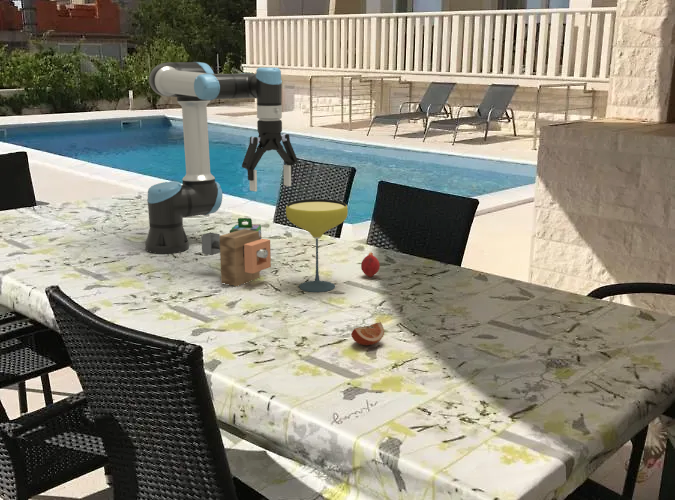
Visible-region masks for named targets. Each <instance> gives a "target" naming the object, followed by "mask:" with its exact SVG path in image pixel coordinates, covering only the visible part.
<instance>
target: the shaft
mask: <svg viewBox="0 0 675 500" xmlns="http://www.w3.org/2000/svg"><path fill="white" fill-rule="evenodd" d="M220 236H221V234H220V233H216V232H208V233H204V234H201V254H204V255H207V256H214V255H217V254H220ZM256 253H257V257H261V258H266V257H267V256H268V251H267V250H264V249H261V250H258V251H256ZM243 254H244V246H243Z"/></svg>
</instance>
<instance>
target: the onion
mask: <svg viewBox="0 0 675 500" xmlns="http://www.w3.org/2000/svg"><path fill="white" fill-rule="evenodd" d="M373 253H374V252H372V251H369V253H368V255H367V256H365V257H364V258H363V259H362V261H361V265H360V268H361V271H362V273H363V274H364V275H366V276H367V277H368V278H372V277H374V276H375V275H376V274H378V272H379V270H380V266H381V265H380V260H378V258H377V257H376V256H375V255H374V254H373Z"/></svg>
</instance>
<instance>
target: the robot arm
mask: <svg viewBox="0 0 675 500" xmlns="http://www.w3.org/2000/svg"><path fill="white" fill-rule="evenodd" d="M255 71H256V73H251V72H242V73H215V72H214V71H213V69H212V67H211V66H210V65H209V64H208V63H206V62H200V61H192V62H191V61H190V62H189V61H188V62H187V61H186V62H185V61H183V62H182V61H180V62H171V61H170V62H163V63H159V64H158V65H156V66H155V67H153V68H152V70H151V71H150V73H149V76H148V81H149V86H150V88H151V89H152V90H153V92H155V94H157V95H159V96H161V97H167V98H168V97H169V98H172V97H173V98H174V97H175V98H176V101H177V103H178V105H180V107H181V113H182V127H183V128H182V129H183V143H184V144H183V145H184V146H183V147H184V157H185V158H184V159H185V174H184V175H185V176H183V178H182V180H181V181H182V184H181V182H179V181H173V180H172V181H165V182H159V183H157V184H156V183H155V184H153V185H151V186H150V187H149V188H148V189H147V200H146V201H147V209H148V211H147V212H148V225H149V226H148V227H149V228H148V229H149V230H148V234H147V236H146V241H145V251H146V250H148V251H151V252H156V253H155V254H160V253H166V254H175V253H174V252H177V253H180V252H179V251H181V252H184V251H183V250H185V251H187V250H188V249H189V248H190V244H189V243H190V242H189V238H188V236H187V234H186V231H185V228H184V223H183V222H184V219H185V218H191V217H198V216H208V215H210V214H214V213H216V212H217V211H218V210H219V209H220V208H221V206H222V202H223V190H222V188H221V185H220V183H219V182H218V181H216V178H215V176H214V175H213V174H212V173H211V164H210V163H211V161H210V145H209V129H208V128H209V126H208V110H207V109H208V107H207V106H208V104H210V102H211V101H213V100H226V99H227V100H228V99H229V100H230V99H231V100H234V99H235V100H236V99H239V100H240V99H256V118H257V119H258V120H257V125H256V126H257V128H256V129H257V133H258V136H250V137H249V144H248V146H247V150H246V152H245V154H244V158H243V162H242V164H241V168H243V169H245V170H247V180H248V181H249V191H251V192H258V172H257V171H258V170H257V169H256V167H257V166H258V164H259V162H260V161H261V159H262V157H263V156H264V154H265V153H266V152H267V151H268V152H269V151H276V152H277V154H278V155H279V156H280V158H281V159H282V160H283V161H282V162H284V163H285V164H283V186H287V187H291V186H292V175H293V166H295V164H297V162H298V158H297V156H296V153H295V150H294V148H293V145H292V143H291V139H290V134H289V133H282V132H283V120H281V119H282V117H283V110H282V109H283V105H282V98H283V96H282V94H283V93H282V91H283V90H282V86H283V85H282V83H283V80H282V70H281V69H280V68H279V67H258V68H256V70H255ZM281 142H282V143H281ZM186 249H187V250H186ZM148 251H147V252H148ZM151 252H150V253H151Z"/></svg>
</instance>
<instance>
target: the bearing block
mask: <svg viewBox="0 0 675 500" xmlns="http://www.w3.org/2000/svg"><path fill="white" fill-rule="evenodd" d="M257 240H259V231H253V230H247V229H242V230H239V231H235V232H231V233H230V232H229V233H228V232H227V233H225V234H220V253H219V256H220V282H221V284H222V283H225V284H224V285H226V284H229V285H228V286H231V285H234V286H233V287H235V286H237V287H239V286H238V285H240V286H242V285H245V284H247V283H246V282H248V283H250V282H249V281H251V280H253V281H255V279H256V280H258V279H257V278H259V279H260V278H261V274H260V273H261V271H259V272H256V273H253V274H252V273H247V272H245V258H244V254H243V246H244V244H247V243H250V242H253V241H257ZM257 261H259V257H257ZM251 282H252V281H251ZM244 283H245V284H244ZM241 284H242V285H241Z"/></svg>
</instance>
